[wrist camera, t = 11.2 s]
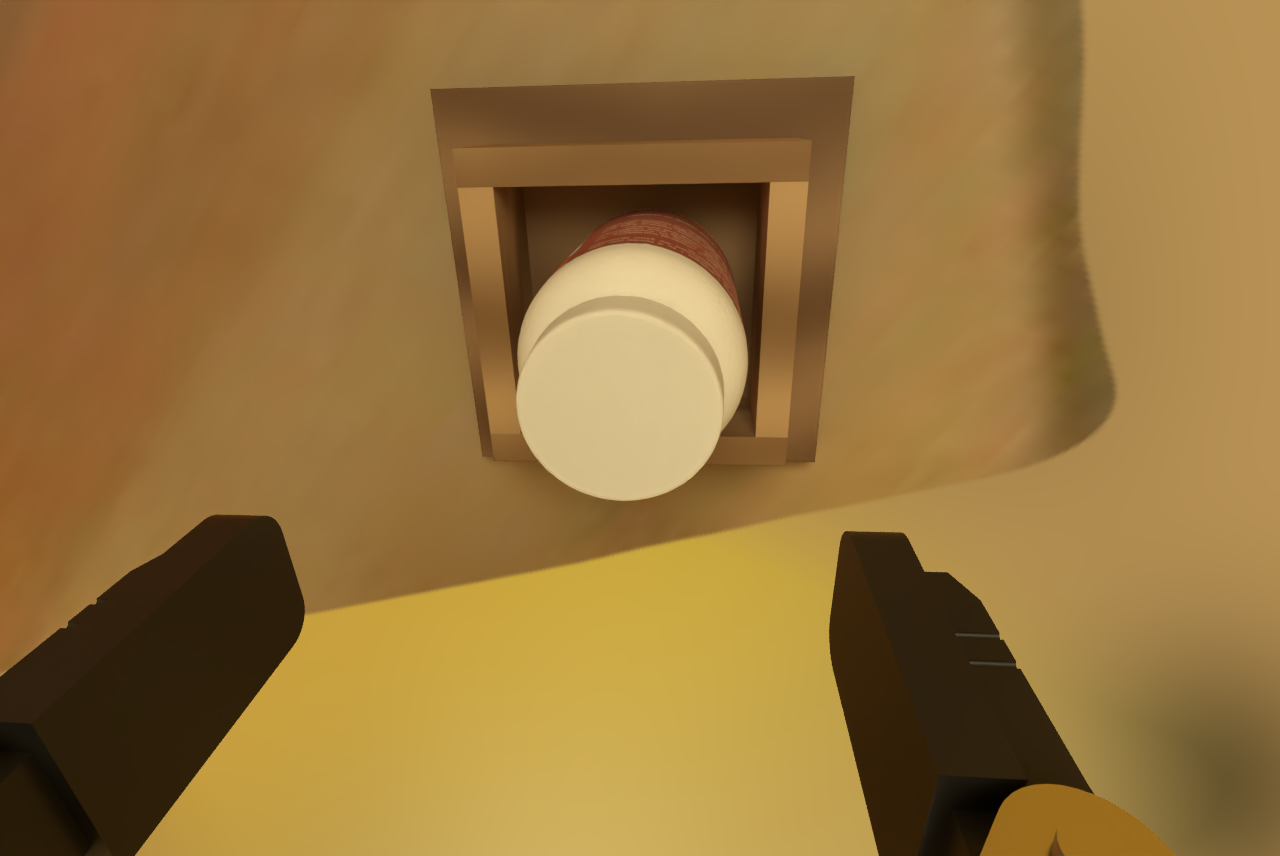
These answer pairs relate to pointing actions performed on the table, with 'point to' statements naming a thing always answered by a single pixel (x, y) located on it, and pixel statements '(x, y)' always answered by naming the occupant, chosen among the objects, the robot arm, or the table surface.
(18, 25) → the table surface
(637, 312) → the pill bottle
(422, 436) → the table surface
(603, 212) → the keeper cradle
